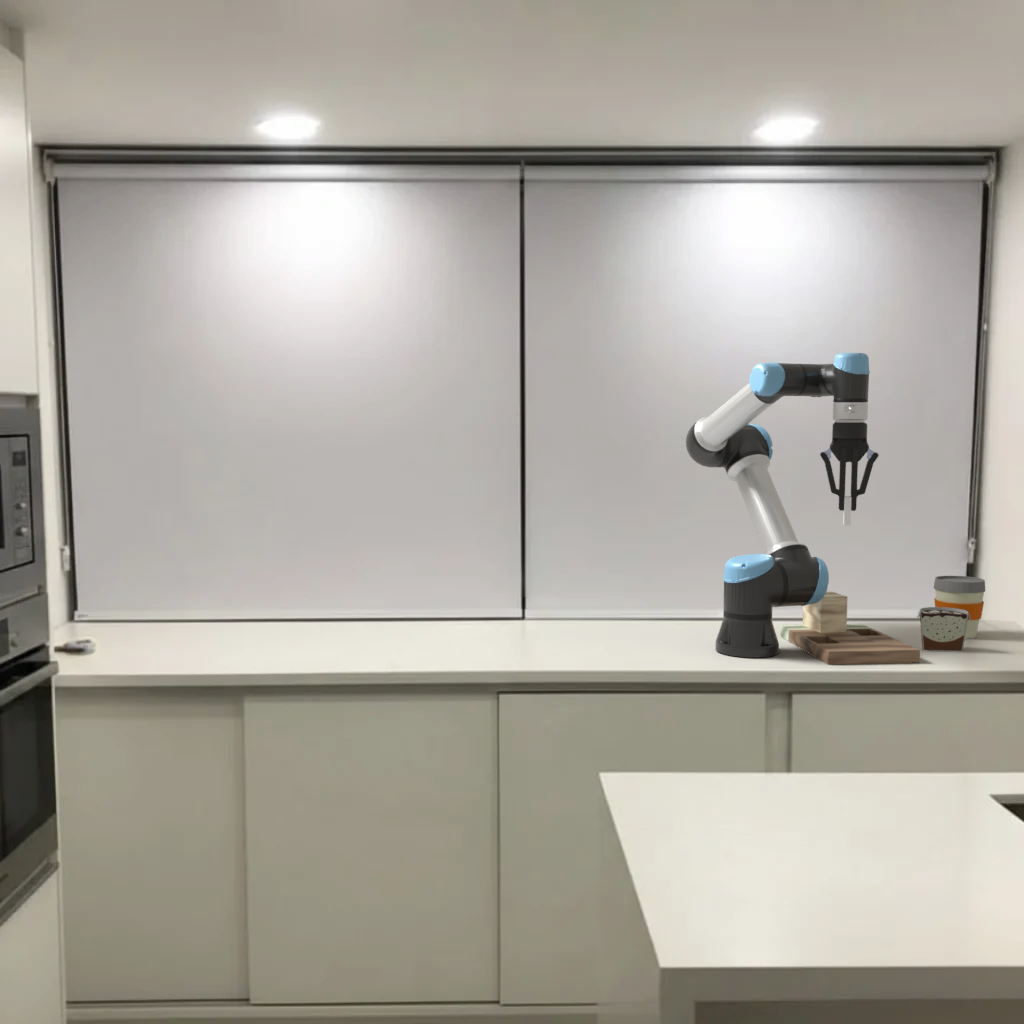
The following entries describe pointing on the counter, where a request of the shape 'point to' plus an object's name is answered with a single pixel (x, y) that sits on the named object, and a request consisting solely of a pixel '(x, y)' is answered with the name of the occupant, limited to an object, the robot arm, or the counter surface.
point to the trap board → (851, 645)
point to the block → (827, 614)
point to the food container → (943, 628)
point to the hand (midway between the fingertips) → (846, 524)
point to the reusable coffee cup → (961, 597)
